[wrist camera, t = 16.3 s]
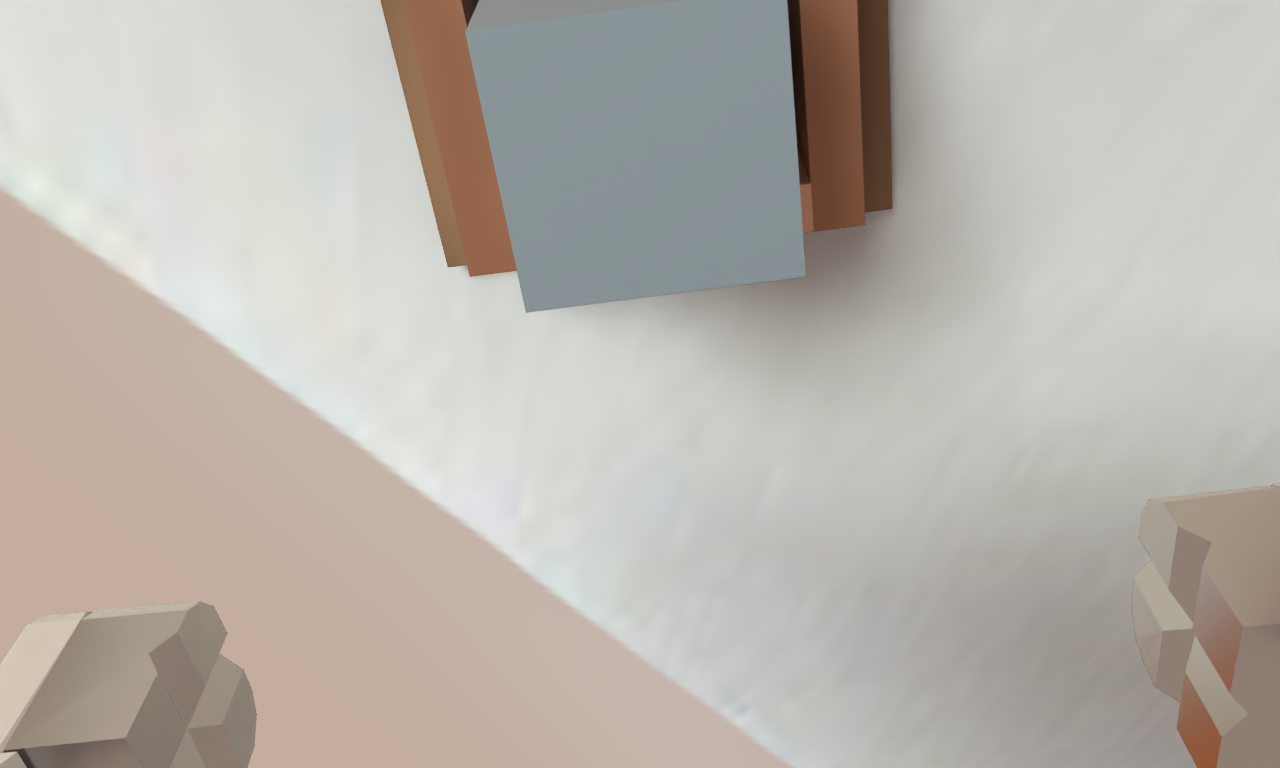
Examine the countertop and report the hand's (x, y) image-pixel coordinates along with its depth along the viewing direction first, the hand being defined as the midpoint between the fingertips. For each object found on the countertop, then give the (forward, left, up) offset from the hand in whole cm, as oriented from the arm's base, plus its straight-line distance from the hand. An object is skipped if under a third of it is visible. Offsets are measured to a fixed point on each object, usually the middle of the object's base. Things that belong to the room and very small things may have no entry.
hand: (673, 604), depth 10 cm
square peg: (0, 0, -21) cm, 21 cm away
